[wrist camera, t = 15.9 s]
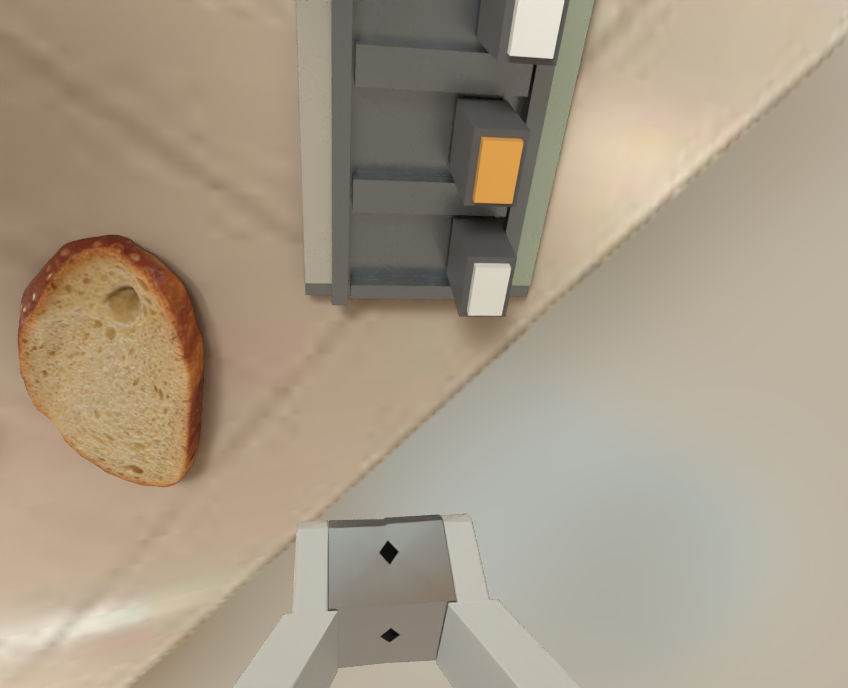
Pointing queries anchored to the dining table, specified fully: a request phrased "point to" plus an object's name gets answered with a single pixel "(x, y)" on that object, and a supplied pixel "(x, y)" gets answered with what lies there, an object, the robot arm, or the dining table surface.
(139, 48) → the dining table surface
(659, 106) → the dining table surface
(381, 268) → the panel
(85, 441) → the slice of bread
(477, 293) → the breaker
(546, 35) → the breaker
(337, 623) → the robot arm
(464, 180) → the breaker mid
